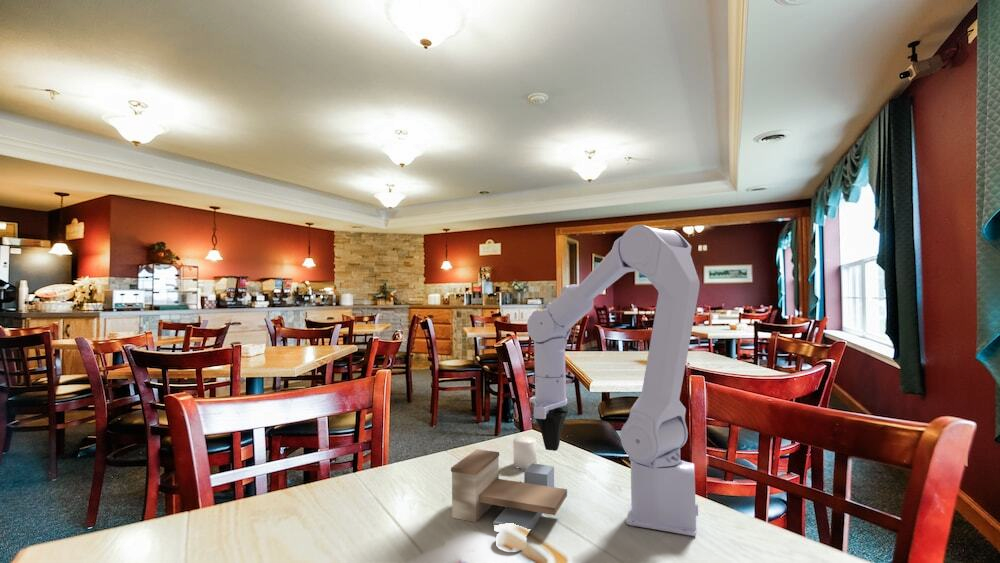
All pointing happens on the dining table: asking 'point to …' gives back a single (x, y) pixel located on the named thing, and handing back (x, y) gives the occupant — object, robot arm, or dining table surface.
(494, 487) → the plinth shelf
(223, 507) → the dining table surface
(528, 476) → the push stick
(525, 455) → the white rounded cylinder
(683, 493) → the robot arm
